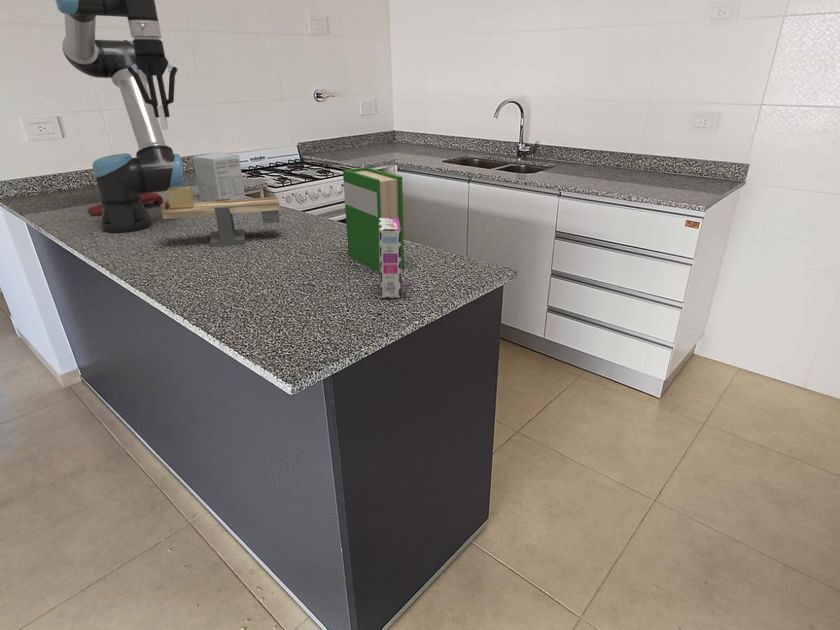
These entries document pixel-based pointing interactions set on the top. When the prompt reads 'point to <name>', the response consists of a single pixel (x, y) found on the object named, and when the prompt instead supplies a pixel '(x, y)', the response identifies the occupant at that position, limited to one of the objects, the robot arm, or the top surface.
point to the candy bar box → (390, 257)
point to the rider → (180, 197)
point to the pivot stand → (226, 229)
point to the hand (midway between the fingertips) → (165, 129)
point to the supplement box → (219, 176)
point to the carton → (144, 199)
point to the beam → (264, 205)
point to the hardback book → (370, 211)
